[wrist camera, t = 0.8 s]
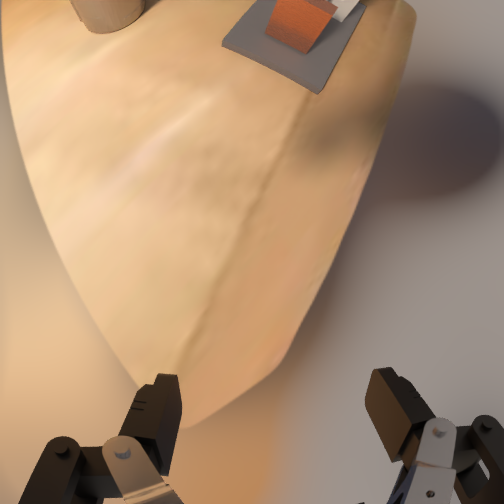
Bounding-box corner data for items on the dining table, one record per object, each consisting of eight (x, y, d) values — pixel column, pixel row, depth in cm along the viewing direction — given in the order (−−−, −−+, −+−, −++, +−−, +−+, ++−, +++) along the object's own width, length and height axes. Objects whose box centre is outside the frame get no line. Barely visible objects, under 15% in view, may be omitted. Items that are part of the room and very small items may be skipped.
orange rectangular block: (264, 33, 30) (281, -10, 21) (297, -8, 30) (317, -46, 21) (305, 54, 31) (332, 15, 22) (333, 11, 31) (359, -24, 22)
